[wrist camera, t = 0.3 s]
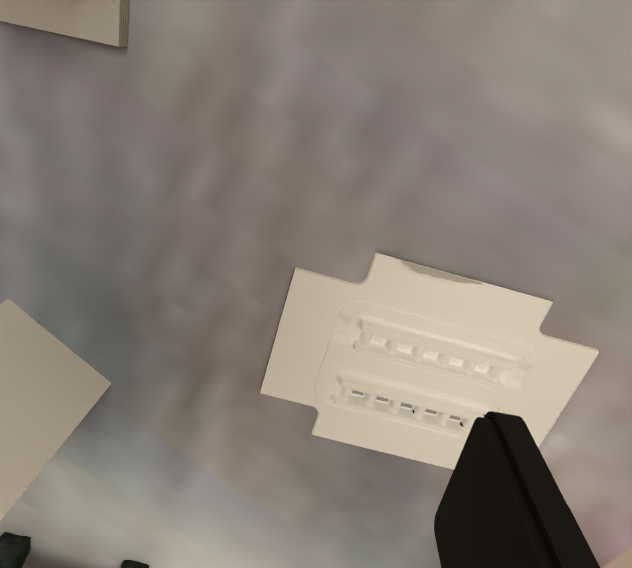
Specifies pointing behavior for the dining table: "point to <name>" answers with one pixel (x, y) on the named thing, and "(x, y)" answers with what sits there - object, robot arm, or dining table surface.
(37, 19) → the stud plate
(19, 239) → the dining table surface
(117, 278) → the dining table surface
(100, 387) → the milk
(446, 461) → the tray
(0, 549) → the dark grey animal figurine
